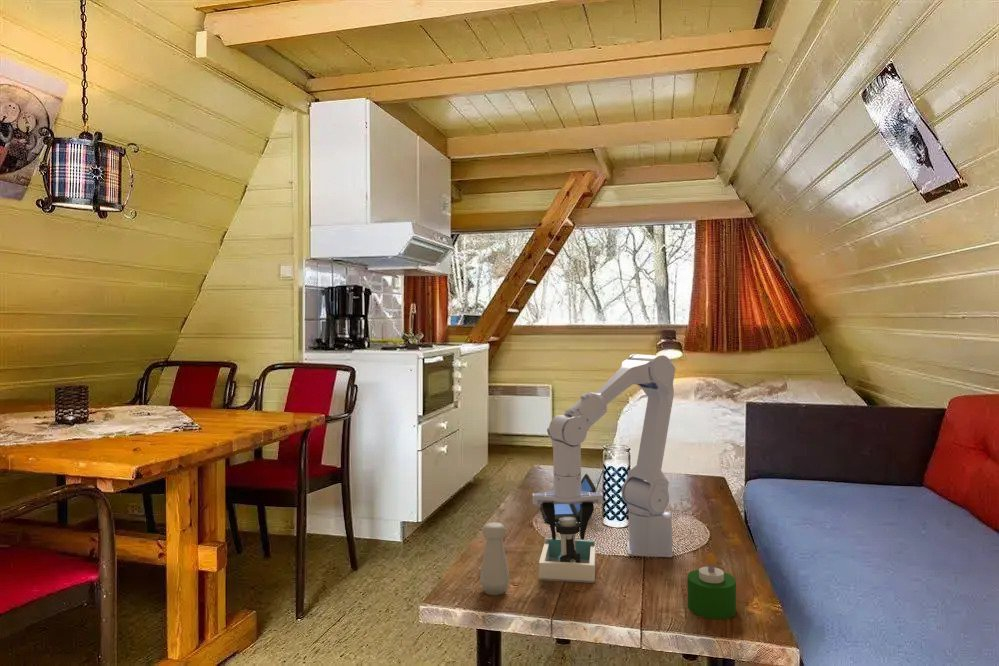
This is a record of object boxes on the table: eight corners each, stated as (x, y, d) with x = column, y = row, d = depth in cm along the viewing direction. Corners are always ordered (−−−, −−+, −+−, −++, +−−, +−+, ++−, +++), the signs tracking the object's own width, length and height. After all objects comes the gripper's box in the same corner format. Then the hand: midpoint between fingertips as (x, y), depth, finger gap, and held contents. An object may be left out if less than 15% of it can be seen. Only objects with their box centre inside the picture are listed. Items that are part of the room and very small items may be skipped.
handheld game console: (540, 506, 177) (539, 473, 177) (587, 505, 177) (587, 472, 177) (544, 524, 161) (544, 488, 161) (597, 523, 161) (596, 487, 161)
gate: (594, 558, 137) (594, 540, 136) (594, 560, 136) (594, 541, 136) (544, 555, 139) (544, 537, 139) (544, 557, 138) (544, 539, 138)
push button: (566, 575, 127) (564, 525, 127) (546, 569, 131) (545, 520, 131) (587, 567, 131) (585, 518, 131) (567, 561, 135) (566, 514, 135)
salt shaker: (481, 584, 125) (480, 519, 125) (509, 584, 125) (508, 519, 125) (479, 597, 119) (478, 529, 119) (509, 597, 119) (508, 529, 119)
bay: (595, 561, 136) (595, 545, 136) (594, 583, 125) (594, 565, 125) (544, 559, 138) (544, 543, 137) (539, 580, 127) (539, 562, 127)
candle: (746, 615, 111) (745, 559, 110) (705, 622, 108) (705, 565, 108) (717, 595, 119) (716, 543, 118) (678, 601, 116) (678, 548, 116)
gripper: (599, 468, 135) (600, 531, 135) (531, 468, 135) (532, 531, 136) (604, 476, 128) (604, 542, 128) (532, 477, 128) (533, 543, 129)
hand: (568, 538), depth 132 cm, fingers closed on push button, 5 cm apart
